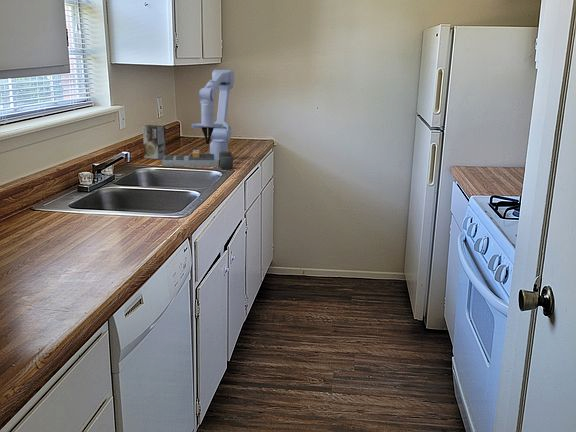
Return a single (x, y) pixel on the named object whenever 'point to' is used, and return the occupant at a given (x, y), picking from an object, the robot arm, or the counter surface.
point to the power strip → (191, 160)
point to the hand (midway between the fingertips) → (207, 143)
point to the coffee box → (154, 141)
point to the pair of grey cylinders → (226, 160)
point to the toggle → (195, 154)
